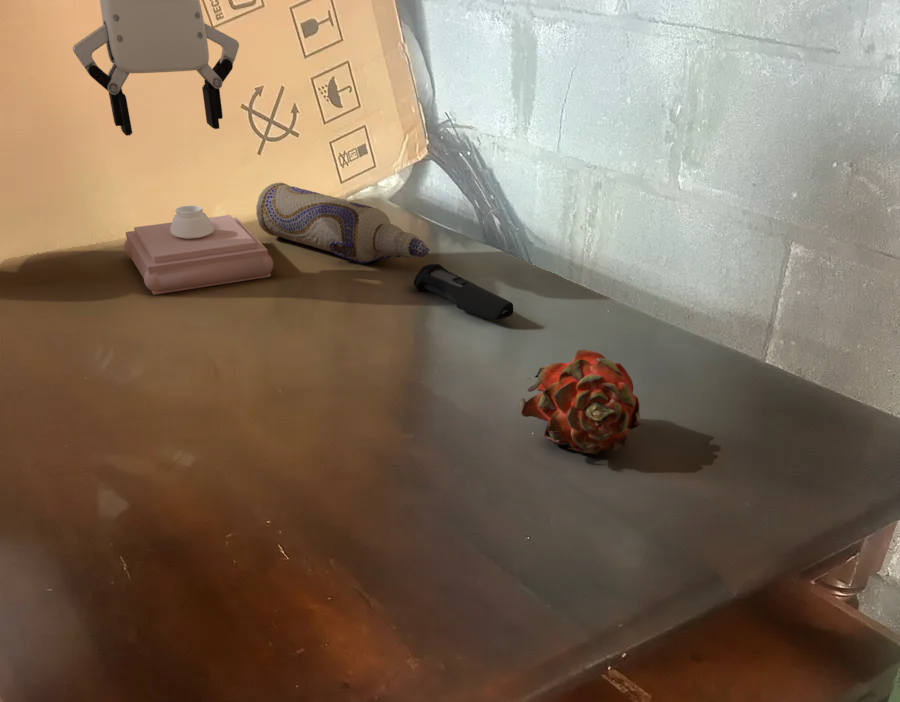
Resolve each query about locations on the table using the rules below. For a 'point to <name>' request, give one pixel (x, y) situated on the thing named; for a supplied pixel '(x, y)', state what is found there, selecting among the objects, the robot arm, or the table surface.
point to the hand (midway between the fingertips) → (170, 129)
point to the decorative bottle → (334, 225)
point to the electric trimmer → (462, 292)
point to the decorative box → (197, 256)
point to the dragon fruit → (585, 403)
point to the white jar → (191, 223)
